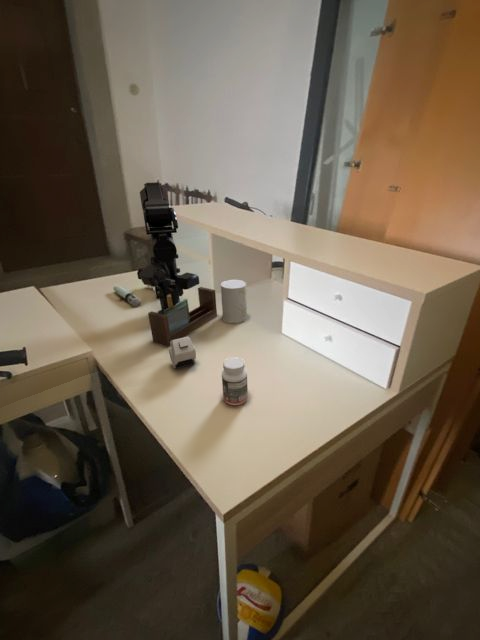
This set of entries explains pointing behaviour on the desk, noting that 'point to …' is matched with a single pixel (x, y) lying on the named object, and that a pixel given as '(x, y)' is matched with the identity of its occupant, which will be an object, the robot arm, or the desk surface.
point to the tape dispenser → (182, 352)
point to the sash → (171, 306)
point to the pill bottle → (234, 381)
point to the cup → (234, 301)
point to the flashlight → (127, 296)
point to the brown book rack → (183, 319)
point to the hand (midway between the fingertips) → (171, 304)
